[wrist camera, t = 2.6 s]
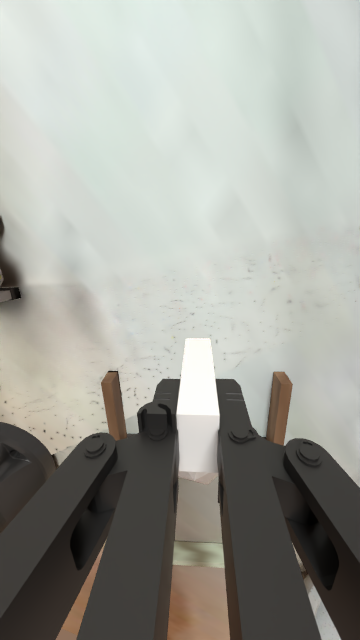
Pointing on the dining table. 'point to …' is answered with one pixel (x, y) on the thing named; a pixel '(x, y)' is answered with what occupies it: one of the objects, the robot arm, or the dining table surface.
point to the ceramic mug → (320, 613)
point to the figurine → (8, 291)
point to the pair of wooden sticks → (276, 431)
